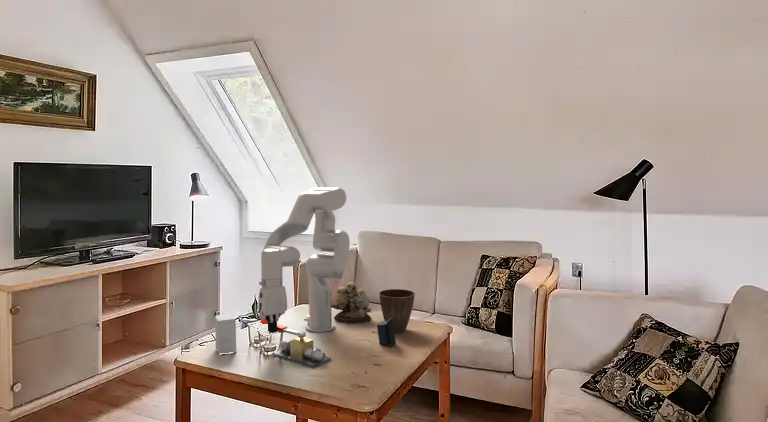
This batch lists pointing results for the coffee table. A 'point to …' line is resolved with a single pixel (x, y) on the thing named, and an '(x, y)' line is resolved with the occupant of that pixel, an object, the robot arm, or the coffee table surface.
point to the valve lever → (290, 331)
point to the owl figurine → (352, 305)
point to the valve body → (302, 352)
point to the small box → (225, 333)
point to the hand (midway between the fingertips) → (272, 332)
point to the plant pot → (397, 307)
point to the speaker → (386, 333)
